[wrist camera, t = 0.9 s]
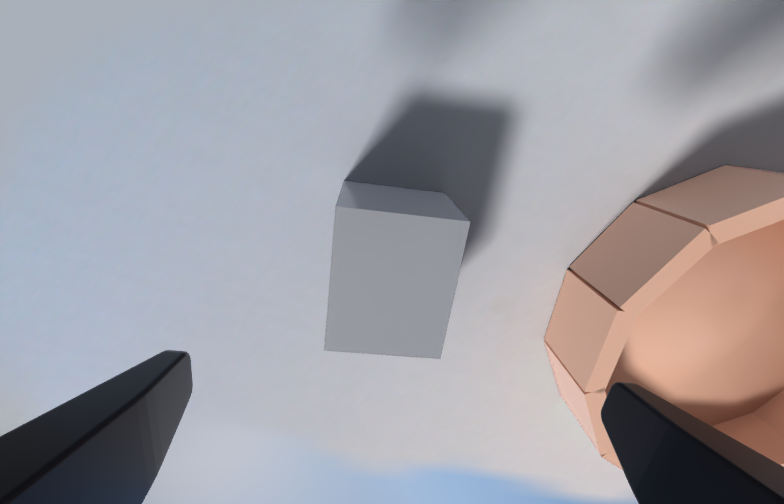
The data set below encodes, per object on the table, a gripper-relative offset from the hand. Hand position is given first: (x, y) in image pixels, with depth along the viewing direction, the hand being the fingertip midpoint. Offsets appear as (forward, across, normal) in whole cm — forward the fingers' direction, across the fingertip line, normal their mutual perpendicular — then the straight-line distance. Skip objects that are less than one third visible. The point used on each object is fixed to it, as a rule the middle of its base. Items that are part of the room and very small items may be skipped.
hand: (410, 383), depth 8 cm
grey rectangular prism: (+8, 0, 0) cm, 8 cm away
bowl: (+8, -15, +2) cm, 17 cm away
